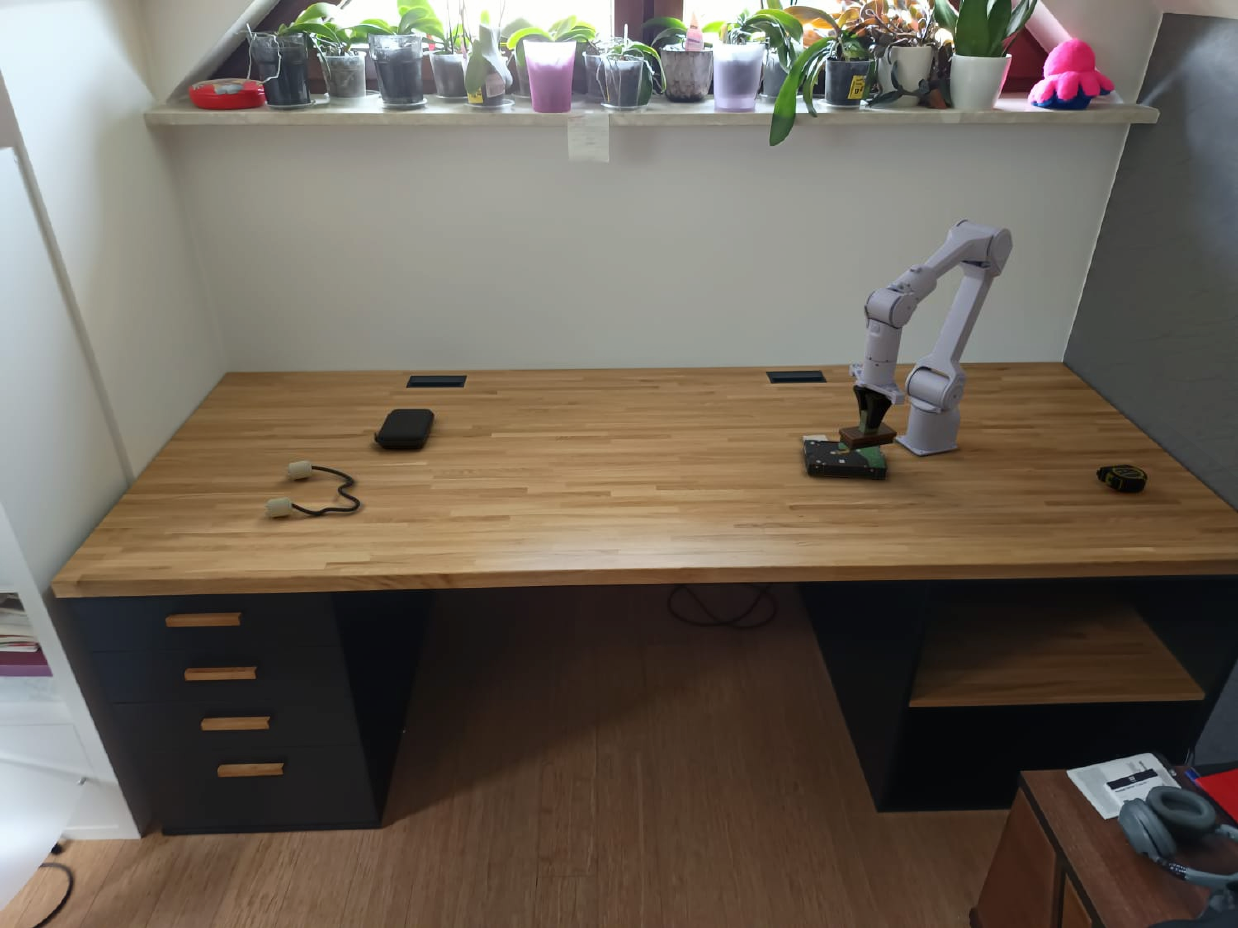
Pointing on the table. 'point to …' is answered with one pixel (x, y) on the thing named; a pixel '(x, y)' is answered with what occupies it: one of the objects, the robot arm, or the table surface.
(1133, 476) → the tape measure
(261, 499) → the table surface
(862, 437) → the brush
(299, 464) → the cable
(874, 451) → the disk drive
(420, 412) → the carrying case
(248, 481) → the table surface
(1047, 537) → the table surface
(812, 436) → the eraser
